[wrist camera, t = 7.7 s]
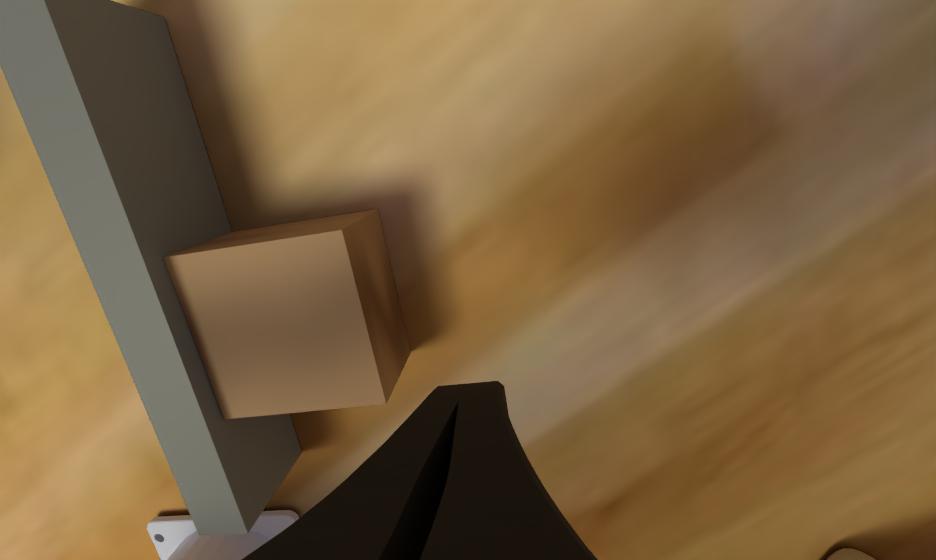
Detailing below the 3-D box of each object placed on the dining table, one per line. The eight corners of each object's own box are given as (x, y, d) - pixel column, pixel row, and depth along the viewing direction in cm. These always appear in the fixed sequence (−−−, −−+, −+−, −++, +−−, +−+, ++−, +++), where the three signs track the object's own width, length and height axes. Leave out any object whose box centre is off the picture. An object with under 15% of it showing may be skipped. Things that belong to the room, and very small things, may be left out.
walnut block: (411, 349, 19) (386, 404, 16) (279, 364, 20) (224, 419, 16) (379, 207, 18) (341, 229, 14) (236, 230, 18) (163, 257, 15)
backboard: (301, 452, 21) (247, 533, 17) (262, 454, 22) (199, 535, 17) (163, 16, 16) (35, -23, 12) (113, 28, 16) (-30, -7, 12)
